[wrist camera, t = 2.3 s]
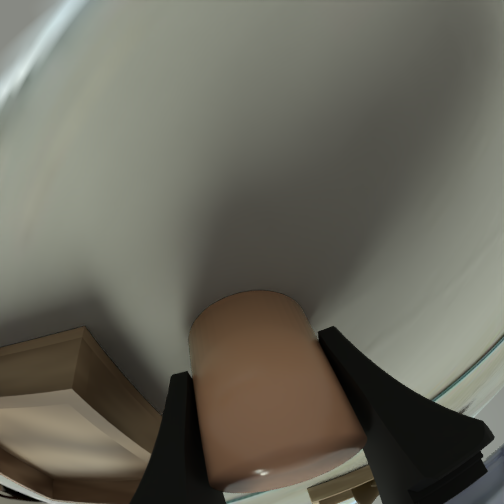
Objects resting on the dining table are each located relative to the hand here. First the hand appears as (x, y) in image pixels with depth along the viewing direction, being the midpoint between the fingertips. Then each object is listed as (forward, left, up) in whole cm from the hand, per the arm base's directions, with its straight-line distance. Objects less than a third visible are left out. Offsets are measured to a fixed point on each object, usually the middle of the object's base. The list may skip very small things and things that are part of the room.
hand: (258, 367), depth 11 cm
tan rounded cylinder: (0, 0, -2) cm, 2 cm away
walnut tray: (-6, +15, -2) cm, 16 cm away
